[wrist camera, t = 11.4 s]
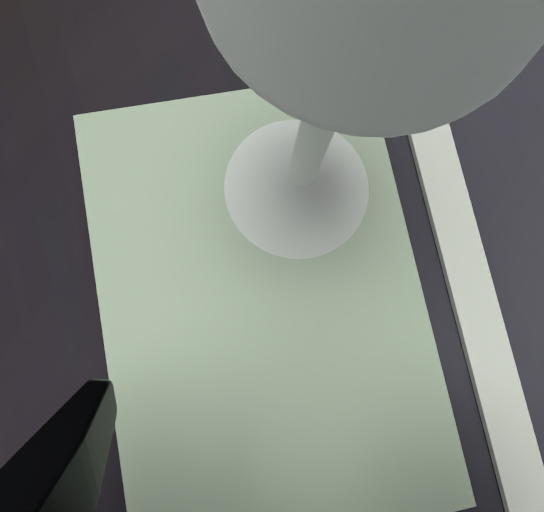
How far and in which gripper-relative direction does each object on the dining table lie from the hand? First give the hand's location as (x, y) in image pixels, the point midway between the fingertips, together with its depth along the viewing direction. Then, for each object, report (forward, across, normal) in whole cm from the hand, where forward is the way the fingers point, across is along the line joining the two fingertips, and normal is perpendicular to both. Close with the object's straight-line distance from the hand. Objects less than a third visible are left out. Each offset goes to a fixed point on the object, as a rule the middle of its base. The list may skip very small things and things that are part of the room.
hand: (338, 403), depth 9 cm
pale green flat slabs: (+11, 0, +6) cm, 12 cm away
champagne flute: (+14, 0, +2) cm, 14 cm away
